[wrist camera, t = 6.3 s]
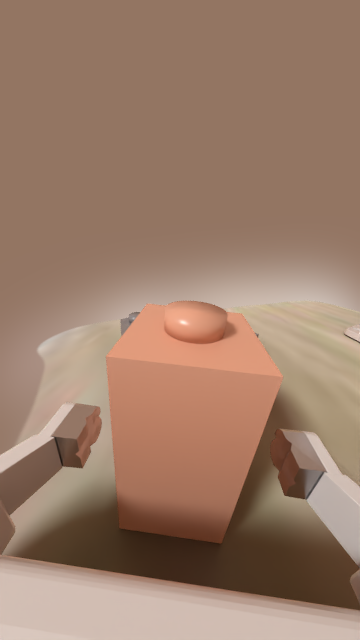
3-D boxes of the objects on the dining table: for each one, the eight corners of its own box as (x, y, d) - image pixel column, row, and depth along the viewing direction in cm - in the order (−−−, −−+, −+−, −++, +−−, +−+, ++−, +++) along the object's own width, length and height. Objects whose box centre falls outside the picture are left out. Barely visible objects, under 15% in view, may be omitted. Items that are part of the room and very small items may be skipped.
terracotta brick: (144, 433, 14) (147, 288, 10) (212, 442, 14) (245, 298, 10) (119, 528, 9) (103, 331, 5) (221, 543, 9) (292, 352, 5)
